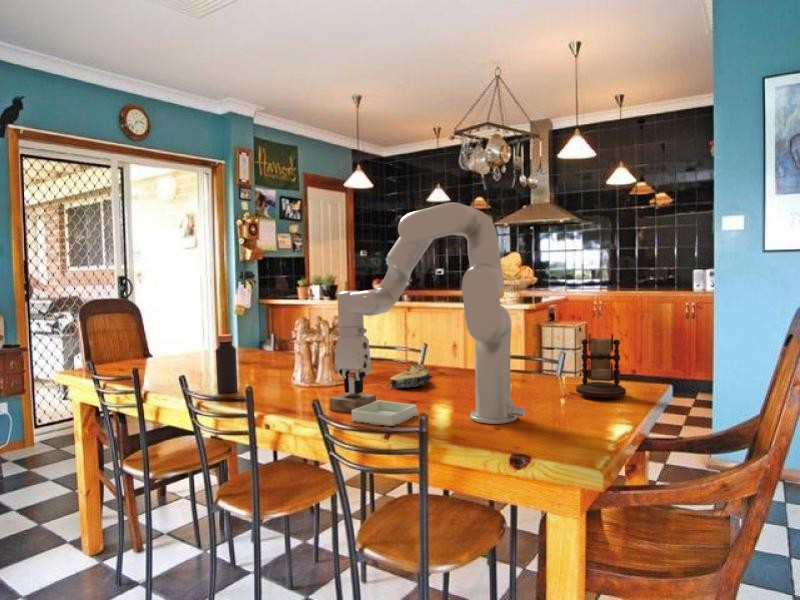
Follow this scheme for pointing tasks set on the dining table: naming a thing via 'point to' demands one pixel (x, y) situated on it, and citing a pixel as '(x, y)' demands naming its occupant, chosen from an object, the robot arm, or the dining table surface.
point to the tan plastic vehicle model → (410, 377)
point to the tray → (384, 413)
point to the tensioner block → (350, 402)
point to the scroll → (600, 369)
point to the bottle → (226, 365)
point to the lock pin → (352, 385)
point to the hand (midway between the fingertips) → (353, 391)
